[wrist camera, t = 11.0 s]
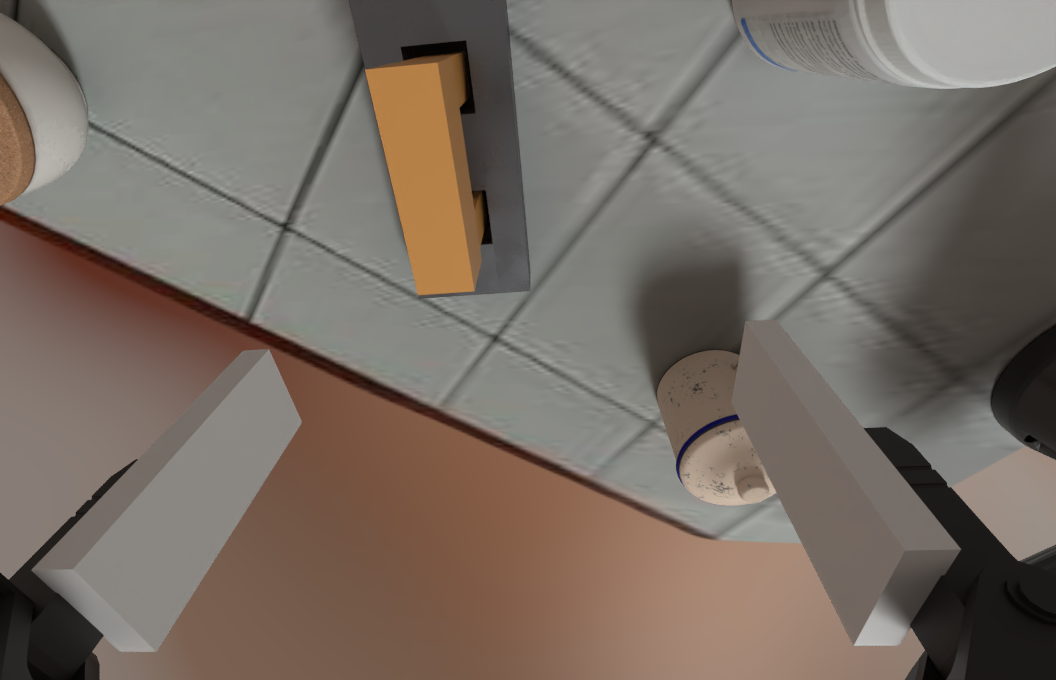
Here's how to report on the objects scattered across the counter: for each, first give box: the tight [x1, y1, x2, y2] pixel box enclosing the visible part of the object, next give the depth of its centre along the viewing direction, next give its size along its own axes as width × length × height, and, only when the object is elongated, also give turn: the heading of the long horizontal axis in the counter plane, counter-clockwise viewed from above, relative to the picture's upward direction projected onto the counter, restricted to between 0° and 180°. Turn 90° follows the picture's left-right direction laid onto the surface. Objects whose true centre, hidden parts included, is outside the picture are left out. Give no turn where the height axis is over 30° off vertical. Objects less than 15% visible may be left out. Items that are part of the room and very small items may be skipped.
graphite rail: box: [349, 0, 530, 299], centre depth 30 cm, size 8×19×3 cm, turn 5°
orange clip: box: [365, 52, 487, 295], centre depth 27 cm, size 10×3×11 cm, turn 5°
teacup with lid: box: [657, 350, 776, 505], centre depth 37 cm, size 12×9×12 cm
